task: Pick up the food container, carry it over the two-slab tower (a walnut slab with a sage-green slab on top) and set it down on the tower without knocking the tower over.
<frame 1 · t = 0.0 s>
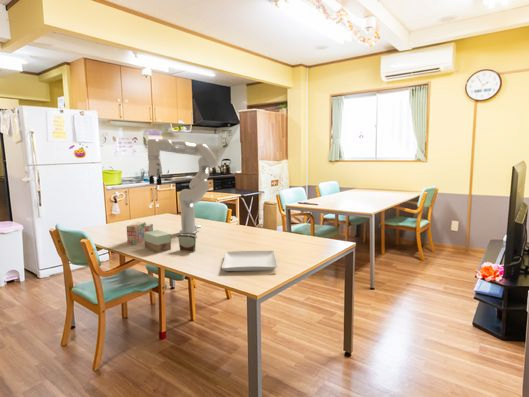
hand: (155, 184, 223), 37 cm above the table, tool pointing down, fingers open, 9 cm apart
food container: (189, 250, 201), on the table
tower base slab: (157, 249, 204), on the table, touching tower top slab
stack of blocks: (141, 241, 224), on the table
tower top slab: (157, 241, 203), point 5 cm above the table, touching tower base slab
square plate: (249, 265, 175), on the table
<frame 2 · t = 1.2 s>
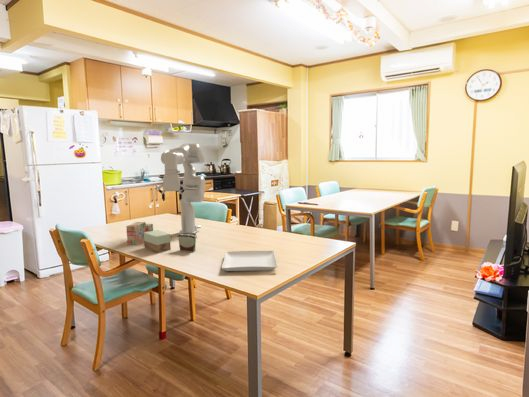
hand: (172, 200, 209), 28 cm above the table, tool pointing down, fingers open, 9 cm apart
tower base slab: (157, 249, 204), on the table
tower top slab: (157, 241, 203), point 5 cm above the table
everything else where it was.
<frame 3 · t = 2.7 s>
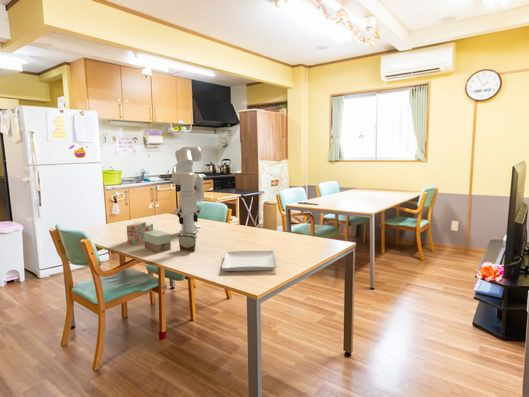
hand: (188, 222, 199), 16 cm above the table, tool pointing down, fingers open, 9 cm apart
tower base slab: (157, 249, 204), on the table, touching tower top slab
tower top slab: (157, 241, 203), point 5 cm above the table, touching tower base slab
everything else where it was.
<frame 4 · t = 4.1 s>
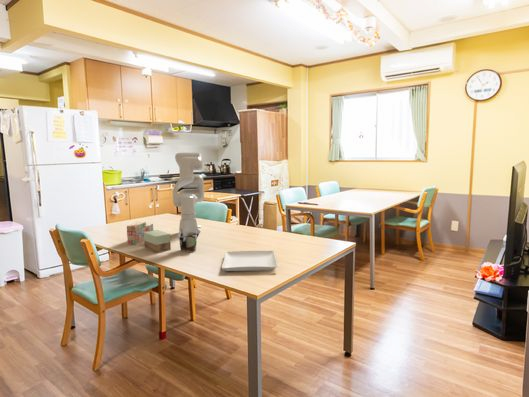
hand: (189, 246, 201), 2 cm above the table, tool pointing down, fingers open, 6 cm apart
food container: (190, 249, 202), on the table, touching gripper
everything else where it was.
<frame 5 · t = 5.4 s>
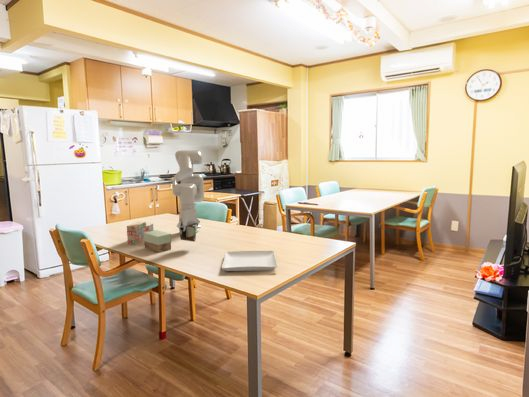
hand: (189, 235, 201), 8 cm above the table, tool pointing down, fingers closed on food container, 6 cm apart
food container: (190, 239, 203), point 6 cm above the table, touching gripper
everything else where it was.
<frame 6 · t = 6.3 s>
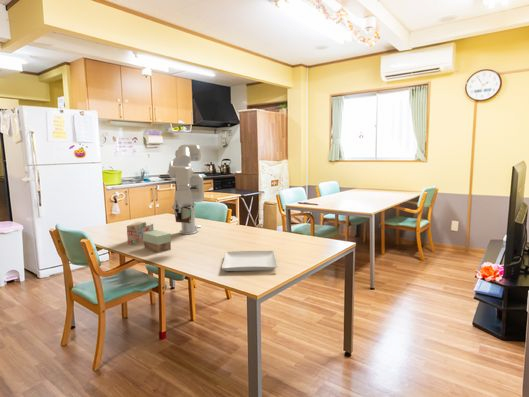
hand: (184, 218, 199), 19 cm above the table, tool pointing down, fingers closed on food container, 6 cm apart
food container: (185, 222, 200), point 17 cm above the table, touching gripper
everything else where it was.
when the fingers open (13 cm above the table, at t = 8.8 s): food container moves 1 cm, resting on tower top slab.
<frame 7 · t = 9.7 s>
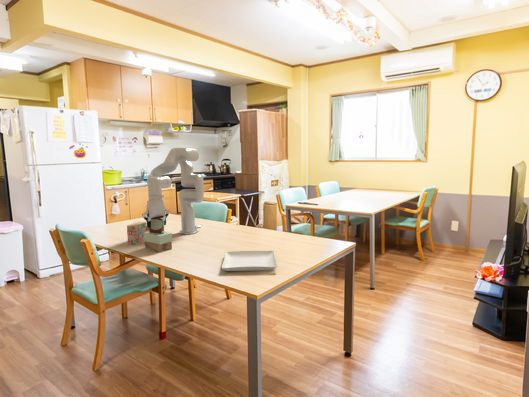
hand: (156, 226, 202), 14 cm above the table, tool pointing down, fingers open, 9 cm apart
food container: (159, 232, 204), point 10 cm above the table, touching tower top slab
tower top slab: (158, 241, 204), point 5 cm above the table, touching food container, tower base slab
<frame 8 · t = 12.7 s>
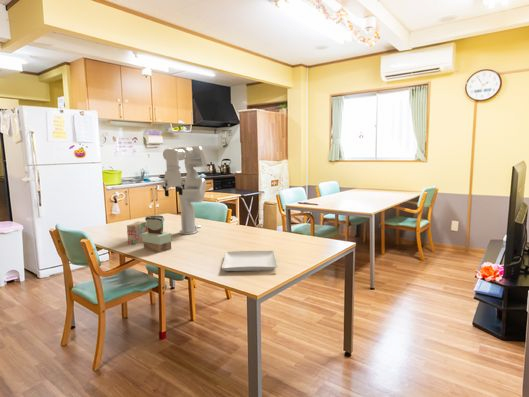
hand: (173, 195, 215), 30 cm above the table, tool pointing down, fingers open, 9 cm apart
at the end: food container inside the target area on the tower top slab (1.6 cm from its centre), point 4.8 cm above the tower top slab's base; food container tilted 1°; tower top slab moved 0.5 cm from its start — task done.
